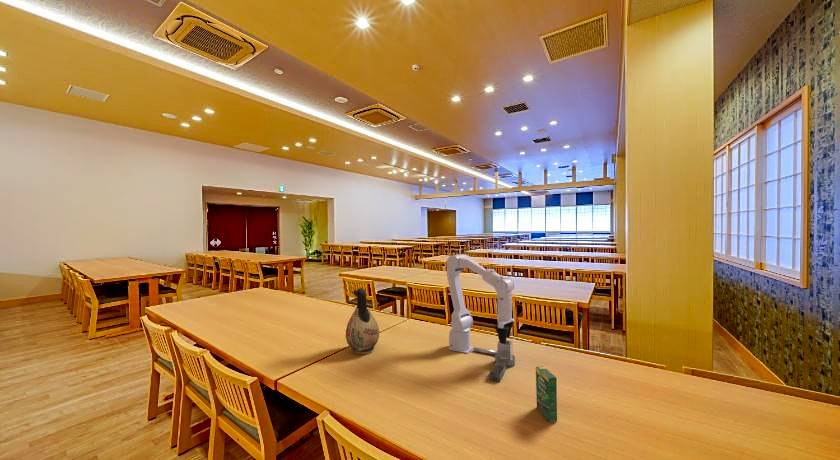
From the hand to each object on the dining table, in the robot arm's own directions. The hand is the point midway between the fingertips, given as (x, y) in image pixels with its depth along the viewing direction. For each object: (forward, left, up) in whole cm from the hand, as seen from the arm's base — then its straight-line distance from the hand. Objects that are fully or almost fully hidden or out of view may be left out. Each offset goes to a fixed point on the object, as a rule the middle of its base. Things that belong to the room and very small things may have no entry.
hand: (504, 340), depth 128 cm
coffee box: (+19, -29, -10) cm, 36 cm away
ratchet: (0, -6, -10) cm, 12 cm away
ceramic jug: (-61, -17, -10) cm, 64 cm away
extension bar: (-10, +6, -10) cm, 15 cm away
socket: (0, 0, -6) cm, 6 cm away
